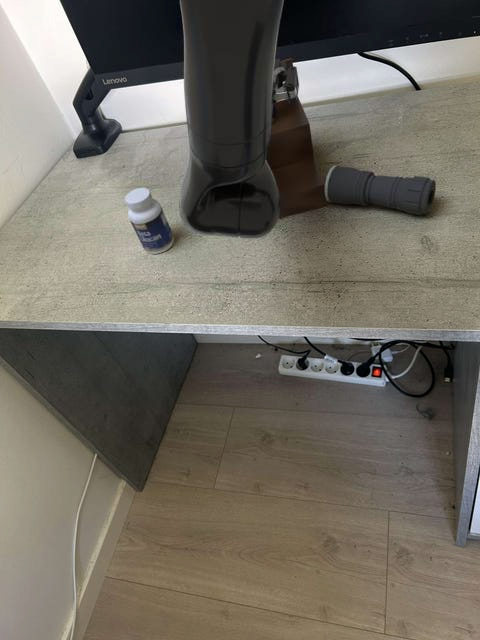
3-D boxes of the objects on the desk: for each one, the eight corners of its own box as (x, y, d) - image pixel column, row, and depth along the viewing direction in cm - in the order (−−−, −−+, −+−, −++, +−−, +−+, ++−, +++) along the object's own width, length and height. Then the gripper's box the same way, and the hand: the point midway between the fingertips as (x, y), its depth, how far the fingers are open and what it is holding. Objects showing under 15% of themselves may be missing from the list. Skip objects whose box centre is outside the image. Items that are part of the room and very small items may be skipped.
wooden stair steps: (305, 147, 90) (291, 57, 78) (327, 205, 77) (315, 108, 66) (232, 167, 92) (208, 82, 80) (241, 227, 79) (215, 136, 67)
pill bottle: (144, 258, 79) (119, 210, 72) (144, 238, 83) (120, 190, 76) (175, 249, 79) (154, 199, 72) (174, 230, 83) (153, 180, 76)
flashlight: (438, 201, 72) (440, 169, 68) (426, 224, 69) (427, 192, 65) (340, 188, 79) (337, 158, 75) (326, 208, 77) (322, 178, 73)
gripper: (292, 84, 58) (294, 33, 68) (179, 108, 61) (197, 55, 72) (302, 142, 63) (301, 87, 74) (197, 161, 66) (211, 105, 77)
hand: (250, 71), depth 73 cm, fingers open, 8 cm apart
